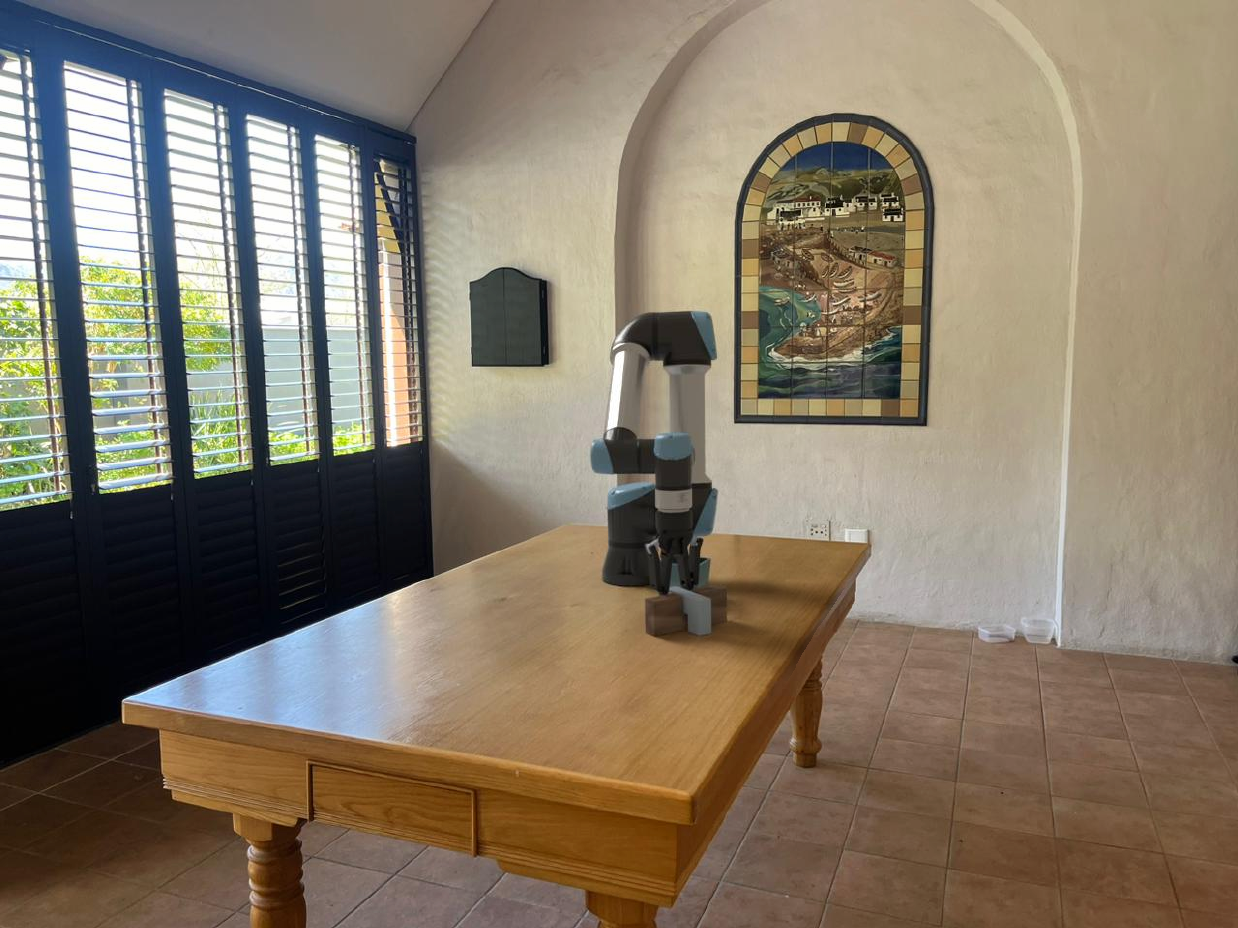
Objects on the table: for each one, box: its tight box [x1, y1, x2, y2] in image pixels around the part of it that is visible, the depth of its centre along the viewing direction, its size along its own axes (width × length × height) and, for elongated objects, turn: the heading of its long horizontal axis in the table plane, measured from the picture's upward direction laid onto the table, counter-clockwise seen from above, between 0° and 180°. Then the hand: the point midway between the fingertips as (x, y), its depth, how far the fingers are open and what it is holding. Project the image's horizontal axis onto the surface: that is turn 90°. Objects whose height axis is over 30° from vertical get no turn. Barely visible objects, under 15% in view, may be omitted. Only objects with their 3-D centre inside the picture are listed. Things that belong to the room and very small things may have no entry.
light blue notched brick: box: [669, 586, 712, 636], centre depth 189 cm, size 12×3×7 cm, turn 31°
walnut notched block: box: [644, 584, 728, 637], centre depth 190 cm, size 3×18×7 cm, turn 121°
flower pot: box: [670, 556, 712, 592], centre depth 210 cm, size 9×9×9 cm
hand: (675, 621), depth 193 cm, fingers closed on light blue notched brick, 3 cm apart
